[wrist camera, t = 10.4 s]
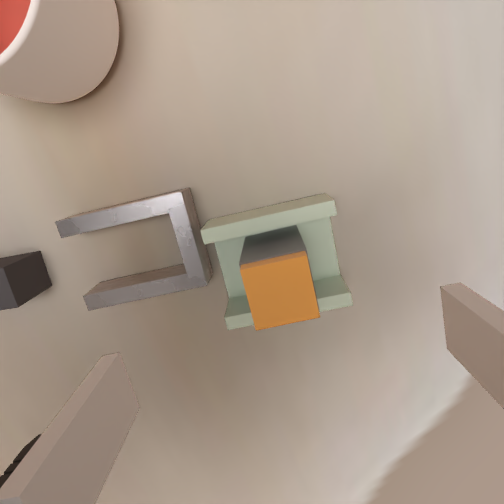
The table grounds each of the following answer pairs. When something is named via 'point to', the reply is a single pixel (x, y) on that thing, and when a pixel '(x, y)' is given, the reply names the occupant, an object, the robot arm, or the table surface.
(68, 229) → the clip
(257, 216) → the end holder
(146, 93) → the table surface
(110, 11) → the cup
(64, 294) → the table surface
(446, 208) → the table surface
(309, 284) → the orange tall block
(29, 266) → the charcoal brick
